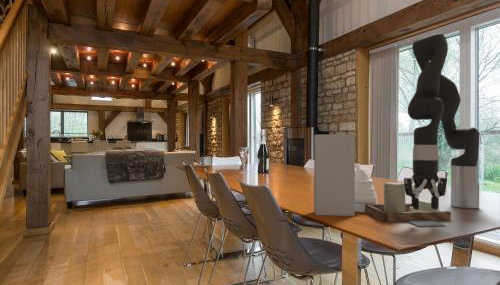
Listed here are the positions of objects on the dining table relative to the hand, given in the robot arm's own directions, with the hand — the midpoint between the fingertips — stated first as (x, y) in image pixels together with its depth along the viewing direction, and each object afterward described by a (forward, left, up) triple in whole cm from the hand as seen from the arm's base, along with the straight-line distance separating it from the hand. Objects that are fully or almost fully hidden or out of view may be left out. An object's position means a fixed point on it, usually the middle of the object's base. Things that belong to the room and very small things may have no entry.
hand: (424, 208), depth 108 cm
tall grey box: (+25, -18, -5) cm, 31 cm away
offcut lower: (-8, -11, -6) cm, 15 cm away
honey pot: (+11, -26, -5) cm, 28 cm away
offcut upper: (-8, -12, -3) cm, 14 cm away
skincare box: (+4, -12, -5) cm, 14 cm away
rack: (0, -12, -5) cm, 13 cm away
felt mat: (0, 0, -5) cm, 5 cm away
